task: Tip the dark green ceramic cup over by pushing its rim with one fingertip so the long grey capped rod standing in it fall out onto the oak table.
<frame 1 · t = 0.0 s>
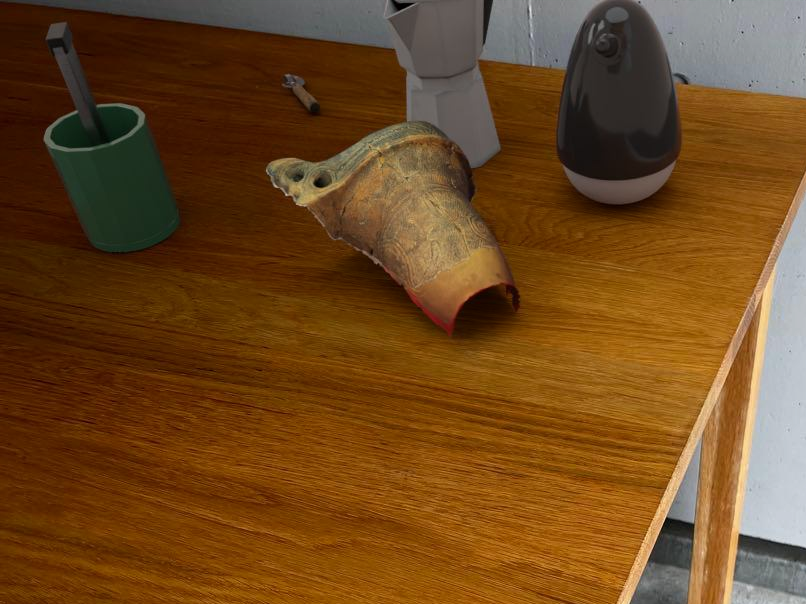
can opener: (304, 98, 104), on the table
grey capped rod: (97, 134, 84), point 8 cm above the table, touching cup
pump dispenser: (619, 191, 89), on the table
cup: (134, 227, 90), on the table, touching grey capped rod
tan clay pottery piece: (416, 270, 83), on the table
coffee maker: (461, 145, 96), on the table
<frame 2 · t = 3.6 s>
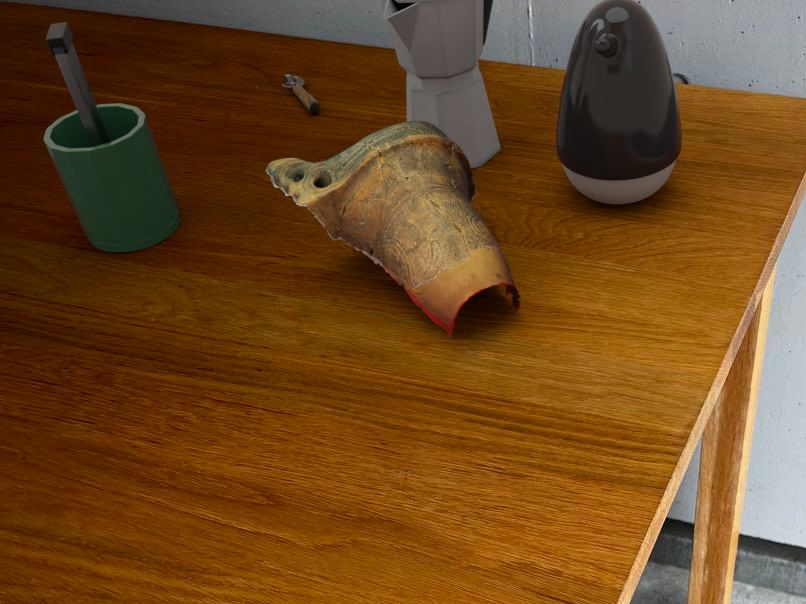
nothing on the table moved.
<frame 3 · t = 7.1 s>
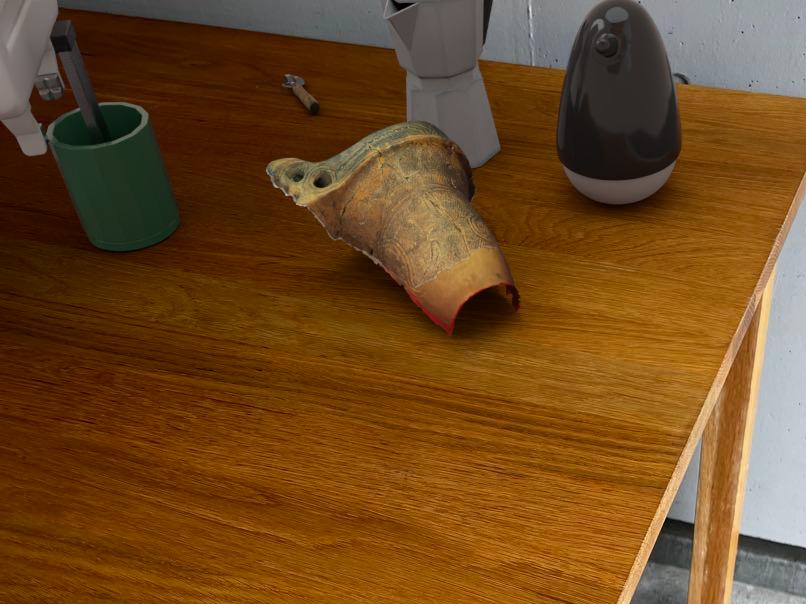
hand: (46, 122, 85), 9 cm above the table, tool pointing down, fingers open, 8 cm apart
cup: (134, 226, 90), on the table, touching gripper, grey capped rod
everything else where it was.
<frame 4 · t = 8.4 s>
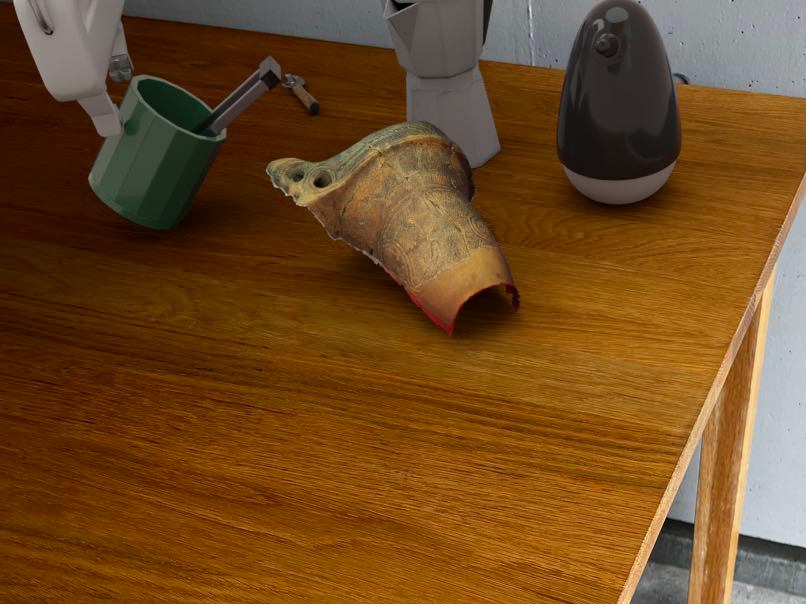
hand: (118, 103, 85), 9 cm above the table, tool pointing down, fingers open, 8 cm apart
grey capped rod: (203, 133, 85), point 7 cm above the table, tilted 59°, touching cup
cup: (135, 198, 88), point 3 cm above the table, tilted 41°, touching gripper, grey capped rod
everything else where it was.
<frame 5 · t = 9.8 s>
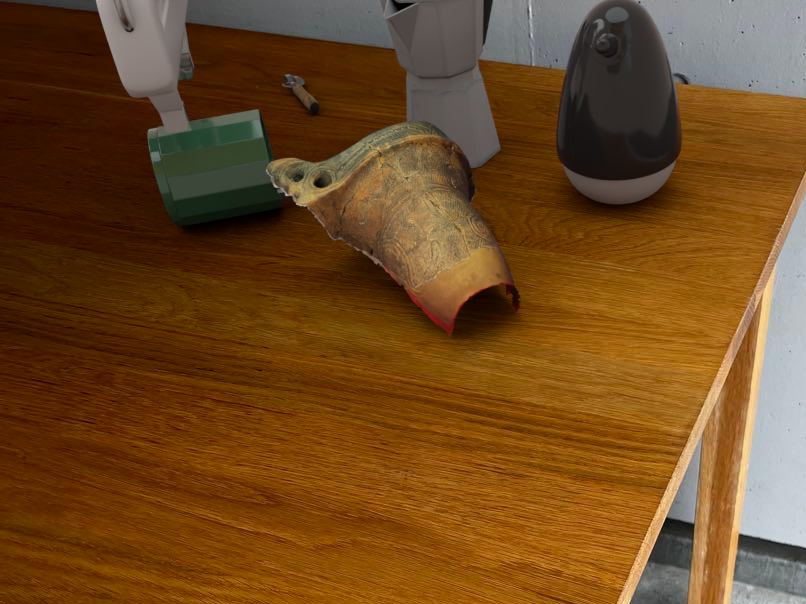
hand: (182, 101, 86), 9 cm above the table, tool pointing down, fingers open, 8 cm apart
grey capped rod: (278, 187, 90), point 1 cm above the table, tilted 94°, touching cup
cup: (163, 178, 87), point 4 cm above the table, tilted 90°, touching grey capped rod
everything else where it was.
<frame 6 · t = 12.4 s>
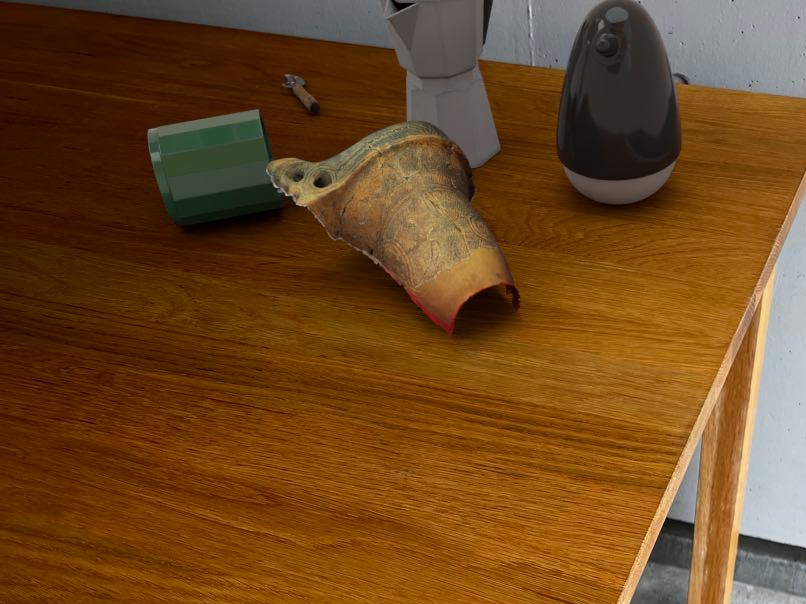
nothing on the table moved.
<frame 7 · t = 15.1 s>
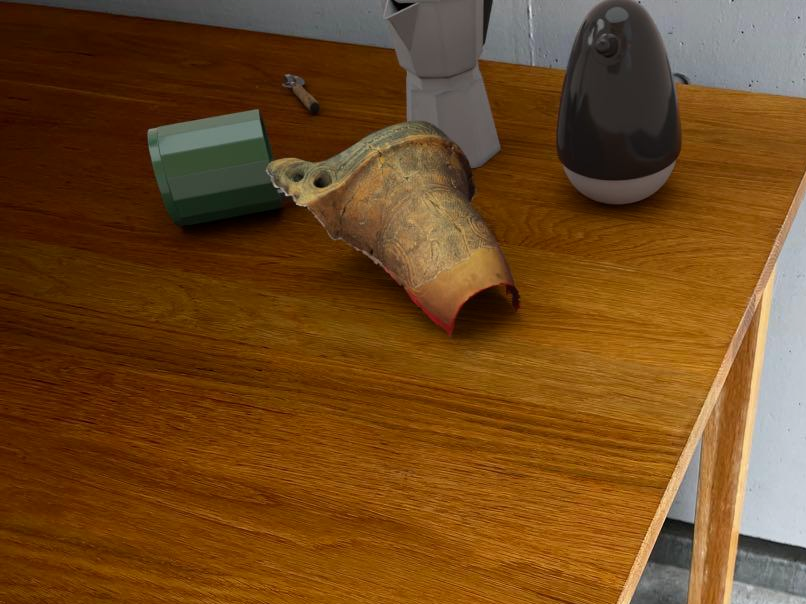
nothing on the table moved.
at the end: cup tilted 90°; grey capped rod tilted 94°; grey capped rod moved 14.5 cm from its start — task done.
